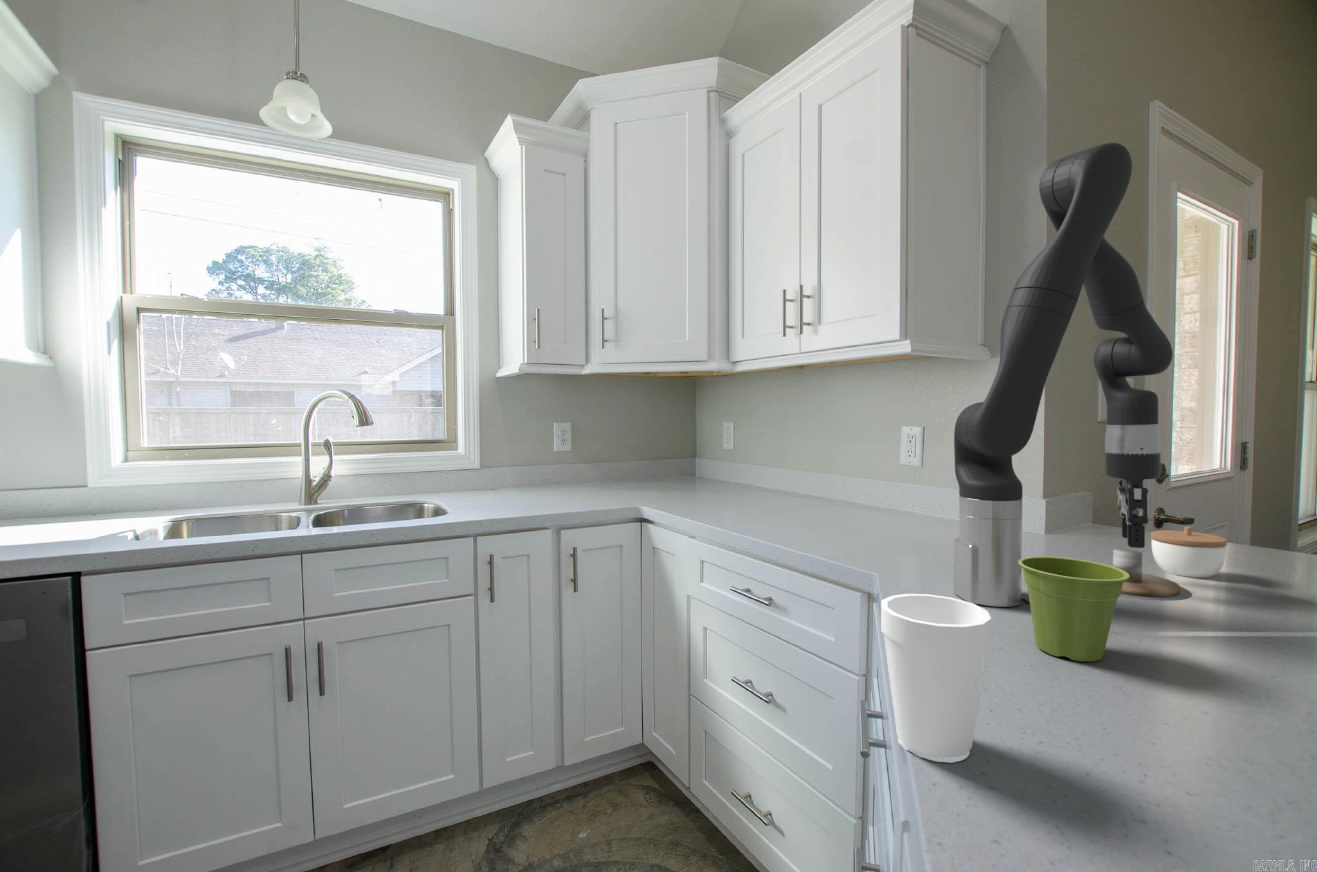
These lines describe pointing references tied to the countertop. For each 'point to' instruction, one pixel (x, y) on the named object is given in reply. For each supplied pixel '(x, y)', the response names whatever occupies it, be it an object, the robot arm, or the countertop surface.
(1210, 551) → the lidded jar
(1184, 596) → the rubber mat
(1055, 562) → the plant pot
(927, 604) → the foam cup
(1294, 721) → the countertop surface
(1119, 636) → the countertop surface
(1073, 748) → the countertop surface
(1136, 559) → the walnut lid
